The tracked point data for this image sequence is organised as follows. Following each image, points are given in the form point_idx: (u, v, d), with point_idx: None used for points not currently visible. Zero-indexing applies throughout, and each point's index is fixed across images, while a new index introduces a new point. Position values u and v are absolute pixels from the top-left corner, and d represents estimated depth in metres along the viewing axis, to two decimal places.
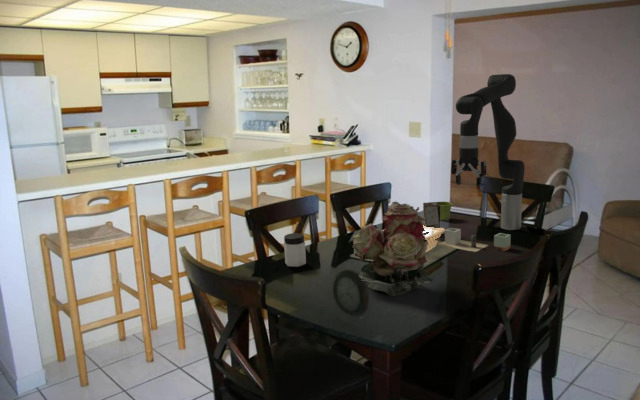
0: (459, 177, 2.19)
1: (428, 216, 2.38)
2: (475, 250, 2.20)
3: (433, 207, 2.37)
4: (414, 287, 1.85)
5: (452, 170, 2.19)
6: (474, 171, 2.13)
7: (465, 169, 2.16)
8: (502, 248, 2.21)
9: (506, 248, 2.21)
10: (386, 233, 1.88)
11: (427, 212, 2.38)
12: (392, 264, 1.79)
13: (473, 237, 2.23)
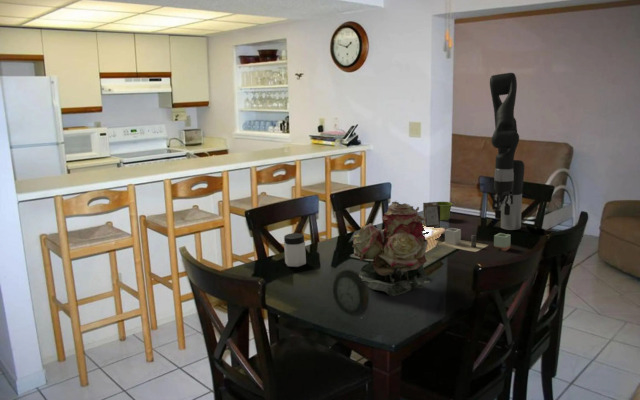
0: None
1: (428, 216, 2.38)
2: (475, 250, 2.20)
3: (433, 207, 2.37)
4: (414, 287, 1.86)
5: (498, 206, 2.14)
6: (510, 201, 2.21)
7: (504, 202, 2.18)
8: (502, 248, 2.21)
9: (506, 248, 2.21)
10: (386, 233, 1.88)
11: (427, 212, 2.38)
12: (392, 264, 1.79)
13: (473, 237, 2.23)
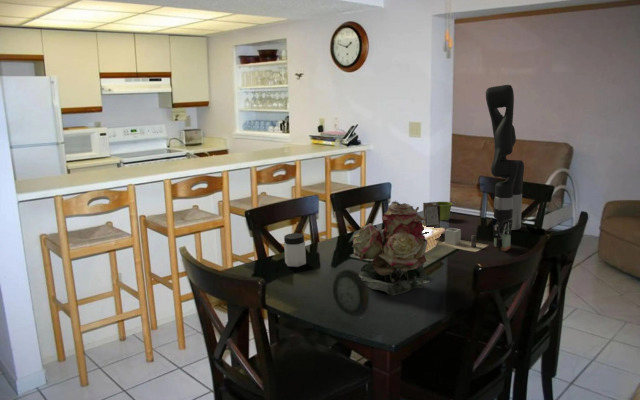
0: None
1: (428, 216, 2.38)
2: (475, 250, 2.20)
3: (433, 207, 2.37)
4: (414, 286, 1.86)
5: (499, 235, 2.18)
6: (508, 230, 2.23)
7: (504, 228, 2.21)
8: (502, 248, 2.21)
9: (506, 248, 2.21)
10: (386, 233, 1.88)
11: (427, 212, 2.38)
12: (392, 264, 1.79)
13: (473, 237, 2.23)
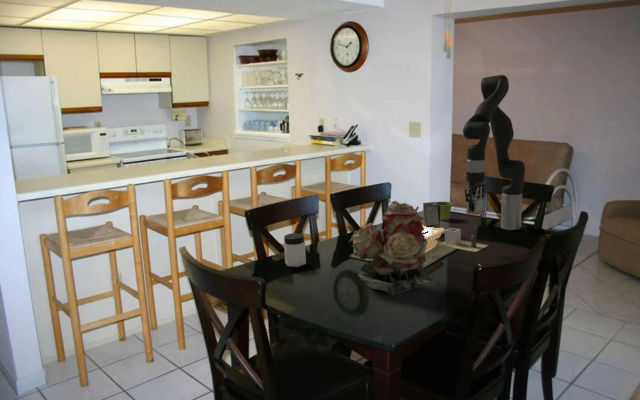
0: None
1: (428, 216, 2.38)
2: (475, 250, 2.20)
3: (433, 207, 2.37)
4: (414, 286, 1.86)
5: (471, 199, 2.15)
6: (481, 194, 2.20)
7: (477, 192, 2.18)
8: (474, 212, 2.18)
9: (479, 212, 2.18)
10: (386, 233, 1.89)
11: (427, 212, 2.38)
12: (392, 263, 1.80)
13: (473, 237, 2.23)
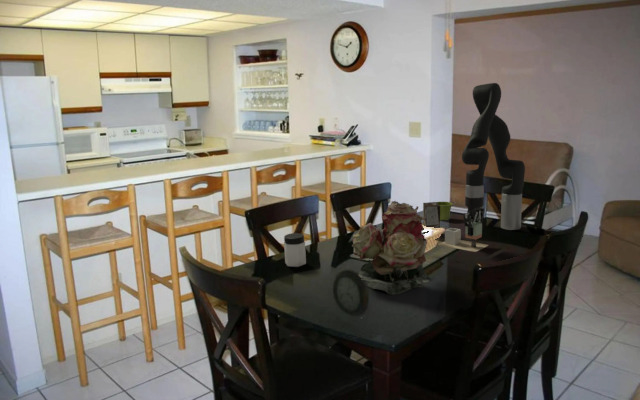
0: None
1: (428, 216, 2.38)
2: (475, 250, 2.20)
3: (433, 207, 2.37)
4: (413, 286, 1.86)
5: (470, 223, 2.17)
6: (480, 218, 2.22)
7: (475, 217, 2.21)
8: (473, 236, 2.21)
9: (477, 236, 2.21)
10: (386, 232, 1.89)
11: (427, 212, 2.38)
12: (392, 263, 1.80)
13: None
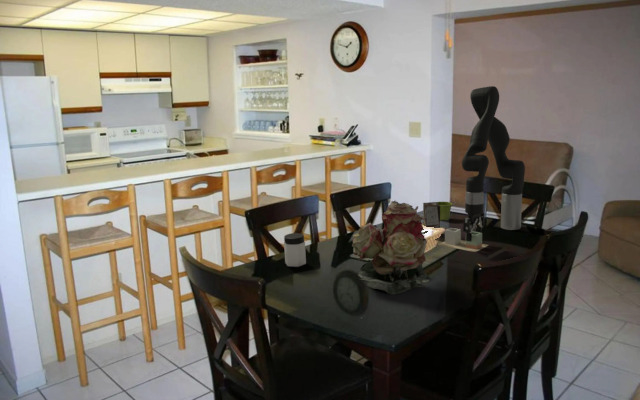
0: None
1: (428, 216, 2.38)
2: (475, 250, 2.20)
3: (433, 207, 2.37)
4: (413, 286, 1.87)
5: (469, 229, 2.17)
6: (481, 223, 2.23)
7: None
8: (473, 246, 2.22)
9: (477, 246, 2.22)
10: (386, 232, 1.89)
11: (427, 212, 2.38)
12: (392, 263, 1.80)
13: None
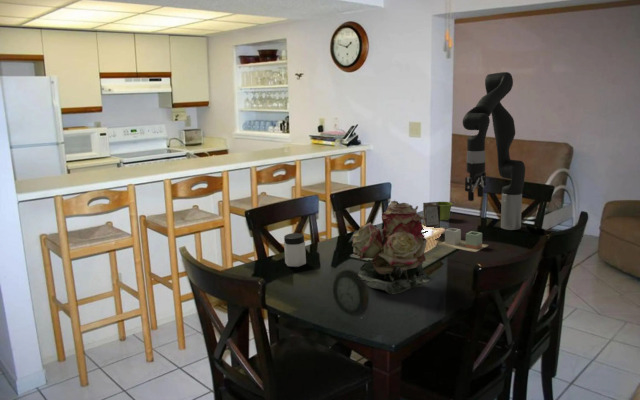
0: None
1: (428, 216, 2.38)
2: (475, 250, 2.20)
3: (433, 207, 2.37)
4: (413, 285, 1.87)
5: (471, 188, 2.16)
6: (483, 183, 2.23)
7: (477, 183, 2.20)
8: (473, 246, 2.22)
9: (477, 246, 2.22)
10: (386, 232, 1.89)
11: (427, 212, 2.38)
12: (392, 263, 1.80)
13: None
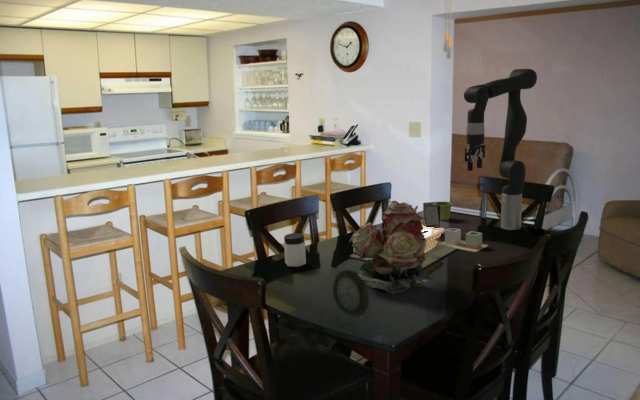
0: None
1: (428, 216, 2.38)
2: (475, 250, 2.20)
3: (433, 207, 2.37)
4: (413, 285, 1.87)
5: (470, 158, 2.27)
6: (482, 154, 2.34)
7: (476, 154, 2.31)
8: (473, 246, 2.22)
9: (477, 246, 2.22)
10: (386, 232, 1.89)
11: (427, 212, 2.38)
12: (391, 262, 1.81)
13: None
